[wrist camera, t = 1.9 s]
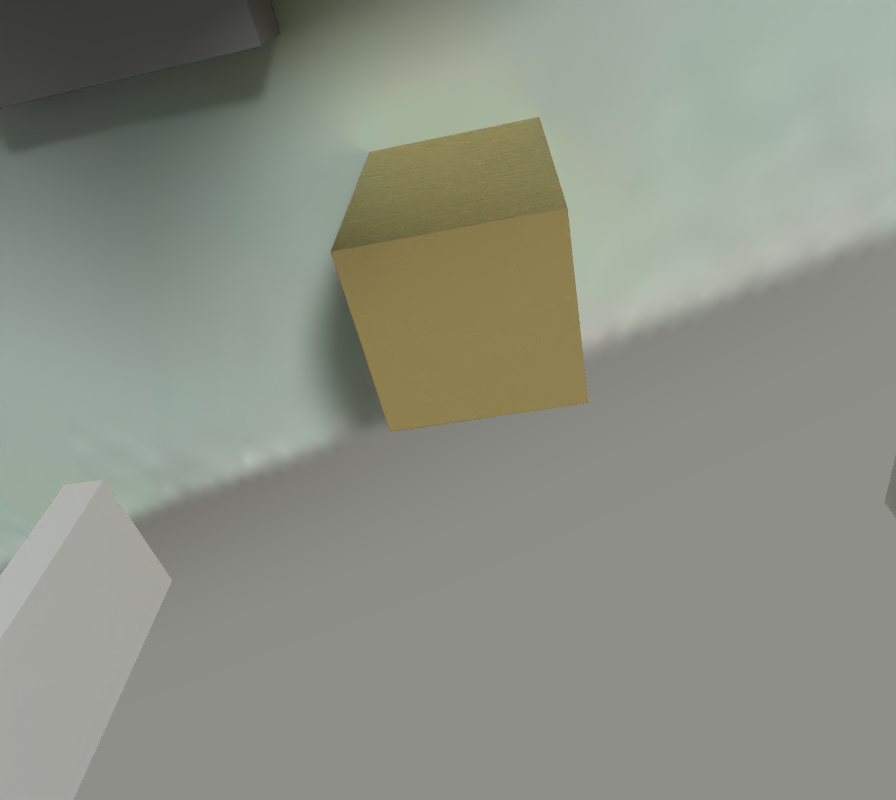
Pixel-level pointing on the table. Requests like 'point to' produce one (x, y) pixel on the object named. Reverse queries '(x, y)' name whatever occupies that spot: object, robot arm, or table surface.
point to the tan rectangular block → (463, 278)
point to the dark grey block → (117, 40)
